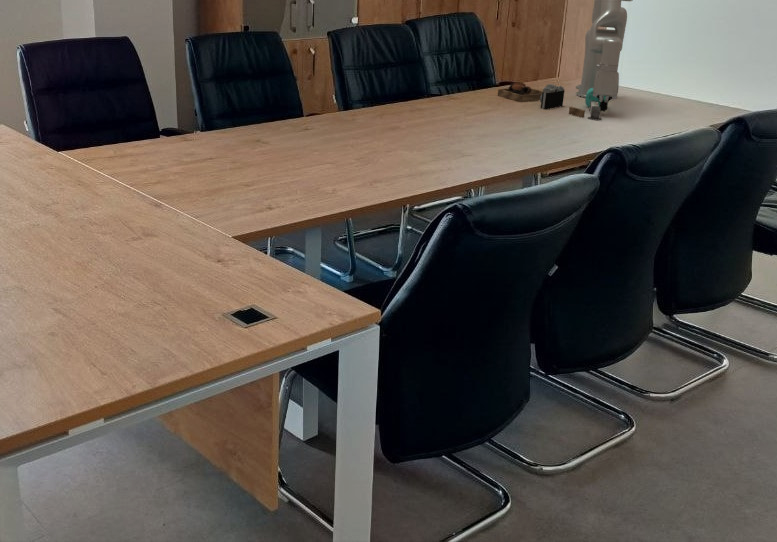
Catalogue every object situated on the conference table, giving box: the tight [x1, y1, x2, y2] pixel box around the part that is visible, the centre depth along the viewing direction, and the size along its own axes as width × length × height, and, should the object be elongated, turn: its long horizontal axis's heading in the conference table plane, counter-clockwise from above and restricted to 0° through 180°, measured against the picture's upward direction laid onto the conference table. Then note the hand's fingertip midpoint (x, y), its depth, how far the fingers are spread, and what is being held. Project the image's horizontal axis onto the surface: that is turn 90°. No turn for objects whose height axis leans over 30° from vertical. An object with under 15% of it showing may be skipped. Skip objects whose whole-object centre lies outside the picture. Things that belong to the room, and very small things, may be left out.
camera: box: [539, 83, 565, 110], centre depth 407 cm, size 15×7×10 cm, turn 137°
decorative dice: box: [584, 88, 606, 108], centre depth 412 cm, size 8×8×8 cm
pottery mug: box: [508, 81, 532, 95], centre depth 423 cm, size 12×10×8 cm
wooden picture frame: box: [497, 87, 543, 103], centre depth 425 cm, size 16×18×3 cm
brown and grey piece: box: [568, 106, 603, 121], centre depth 391 cm, size 15×7×5 cm, turn 33°
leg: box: [588, 101, 599, 115], centre depth 398 cm, size 16×4×4 cm, turn 170°
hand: (602, 110), depth 397 cm, fingers closed
